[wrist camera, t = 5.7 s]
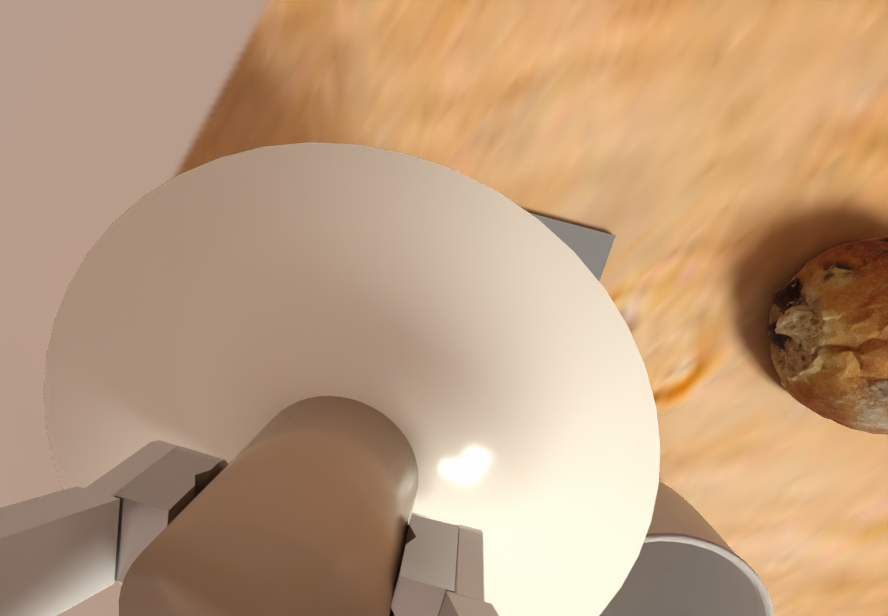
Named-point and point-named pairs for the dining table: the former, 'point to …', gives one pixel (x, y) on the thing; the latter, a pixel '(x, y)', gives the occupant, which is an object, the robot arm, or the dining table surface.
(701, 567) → the teacup
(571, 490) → the lid
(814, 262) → the bread roll
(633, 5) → the dining table surface
